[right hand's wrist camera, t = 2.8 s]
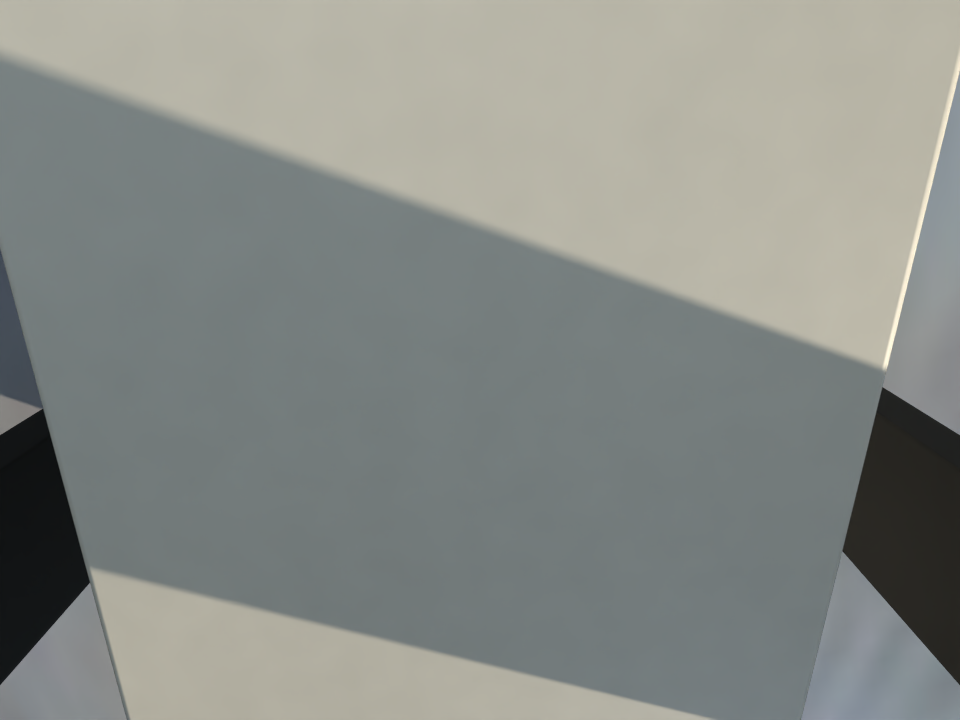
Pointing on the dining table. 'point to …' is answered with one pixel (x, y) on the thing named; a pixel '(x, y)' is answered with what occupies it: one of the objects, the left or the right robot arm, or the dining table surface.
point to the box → (465, 337)
